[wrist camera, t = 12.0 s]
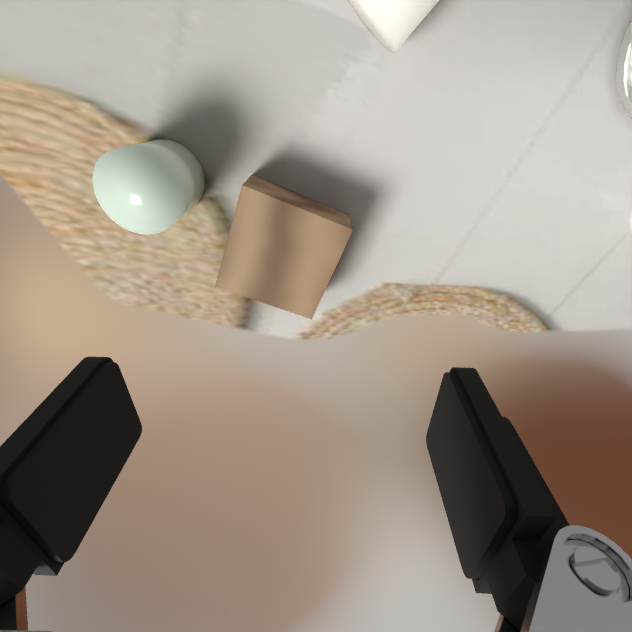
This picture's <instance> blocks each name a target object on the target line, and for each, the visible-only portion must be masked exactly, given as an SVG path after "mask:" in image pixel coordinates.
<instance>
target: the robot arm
mask: <svg viewBox="0 0 632 632" xmlns="http://www.w3.org/2000/svg"><path fill="white" fill-rule="evenodd" d="M616 80H617V91H618V95H619V98H620V102H621V104H622V106H623V108H624V109H625V111H626V113H627V114H628V115H629V116H630V117H631V118H632V19H631V22H630V24H629V26H628V28H627V31H626V33H625V35H624V38H623V42H622V45H621V49H620V52H619V56H618V63H617V71H616ZM141 432H142V425H141V422H140V419H139V417H138V414H137V412H136V409H135V407H134V404H133V401H132V399H131V396H130V394H129V391H128V389H127V386H126V384H125V381H124V378H123V376H122V373H121V371H120V368H119V366H118V364H117V363H114V362H113V360H112V359H111V358H108V357H86V358H84V359H83V360H82V361H81V362H80V363H79V364H78V365H77V366H76V367H75V369H73V370H72V371H71V372H70V374H69V375H68V376H67V377H66V378H65V379H64V380H63V381H62V382H61V383H60V384H59V385H58V386H57V387H56V388H55V389H54V391H53V392H52V393H51V394H50V395H49V396H48V397H47V398H46V399H45V400H44V401H43V402H42V403H41V404H40V405H39V406H38V407H37V409H35V411H34V412H33V413H32V414H31V415H30V416H29V417H28V418H27V419H26V420H25V421H24V422H23V423H22V424H21V425H20V426H19V427H18V428H17V430H16V431H15V432H14V433H13V434H12V435H11V436H10V437H9V438H8V439H7V440H6V441H5V442H4V443H3V444H2V445H1V446H0V632H51V631H28V617H27V601H26V586H25V585H26V584H27V582H28V580H29V579H30V577H31V576H32V574H33V573H34V574H35V575H53V576H57V575H58V573H59V571H60V569H61V567H62V566H63V564H64V562H67V561H68V560H70V559H71V558H72V557H73V555H74V554H75V552H76V550H77V549H78V547H79V545H80V543H81V541H82V540H83V538H84V536H85V534H86V532H87V531H88V529H89V527H90V525H91V524H92V522H93V520H94V518H95V516H96V514H97V513H98V511H99V509H100V507H101V506H102V504H103V502H104V500H105V498H106V497H107V495H108V493H109V491H110V489H111V488H112V486H113V484H114V482H115V481H116V479H117V477H118V475H119V473H120V471H121V470H122V468H123V466H124V464H125V463H126V461H127V459H128V457H129V456H130V453H131V452H132V450H133V448H134V446H135V445H136V443H137V441H138V439H139V437H140V435H141ZM426 442H427V448H428V451H429V454H430V458H431V462H432V465H433V469H434V472H435V476H436V479H437V482H438V486H439V490H440V493H441V496H442V500H443V504H444V507H445V510H446V514H447V517H448V521H449V524H450V528H451V531H452V535H453V538H454V542H455V545H456V549H457V552H458V555H459V559H460V563H461V566H462V569H463V572H464V574H465V576H466V577H467V578H469V579H472V581H473V584H474V588H475V591H476V593H488V594H492V595H493V598H494V601H495V604H496V607H497V610H498V612H500V616H499V619H498V622H497V625H496V628H495V631H494V632H632V560H631V558H630V557H629V556H628V555H627V554H626V553H625V552H624V551H623V550H622V549H621V548H620V547H619V546H618V545H617V544H615V543H614V542H613V541H611V540H610V539H608V538H607V537H606V536H604V535H602V534H600V533H598V532H596V531H594V530H592V529H590V528H586V527H582V526H578V525H576V526H570V525H569V523H568V522H567V520H566V518H565V516H564V515H563V513H562V511H561V509H560V508H559V506H558V504H557V502H556V501H555V499H554V497H553V495H552V494H551V492H550V490H549V488H548V486H547V485H546V483H545V481H544V480H543V478H542V476H541V474H540V472H539V471H538V469H537V467H536V465H535V464H534V462H533V460H532V458H531V457H530V455H529V453H528V451H527V450H526V448H525V446H524V444H523V443H522V441H521V439H520V437H519V436H518V434H517V432H516V430H515V428H514V427H513V425H512V424H511V422H510V421H509V420H508V419H507V418H506V417H502V416H501V414H500V412H499V411H498V409H497V407H496V405H495V403H494V401H493V400H492V398H491V396H490V394H489V392H488V390H487V389H486V387H485V385H484V383H483V382H482V380H481V378H480V376H479V374H478V372H477V371H476V369H474V368H455V367H454V368H452V369H451V370H450V372H447V373H444V376H443V379H442V382H441V386H440V389H439V393H438V396H437V400H436V403H435V407H434V410H433V414H432V417H431V421H430V424H429V428H428V432H427V436H426Z"/></svg>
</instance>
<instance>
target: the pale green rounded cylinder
mask: <svg viewBox="0 0 632 632" xmlns="http://www.w3.org/2000/svg"><path fill="white" fill-rule="evenodd" d="M93 187H94V192H95V195H96V197H97V200H98V202H99V204H100V205H101V207H102V208H103V210H104V211H105V212H106V214H107V215H108V216H109V217H110V218H111V219H112V220H113V221H114V222H116V223H117V224H118V225H120V226H121V227H123V228H125V229H127V230H129V231H132V232H135V233H139V234H146V235H147V234H156V233H160V232H162V231H164V230H166V229H167V228H169V227H170V226H171V225H172V224H173V223H175V222H176V221H177V220H178V219H179V218H181V217H182V216H183V215H184V214H186V213H187V212H188V211H189V210H190V209H192V208H193V207H194V206H195V205H196V204H197V203H198V202H199V201H200V199H201V198H202V195H203V193H204V188H205V179H204V174H203V170H202V168H201V165H200V164H199V162H198V160H197V159H196V157H195V156H194V155H193V154H192V153H191V152H190V151H189V150H188V149H187V148H186V147H184V146H183V145H181V144H179V143H177V142H175V141H172V140H167V139H158V140H153V141H148V142H143V143H139V144H134V145H130V146H125V147H121V148H116V149H113V150H110V151H108V152H106V153H105V154H104V155H102V156H101V157H100V159H99V160H98V161H97V163H96V165H95V168H94V172H93Z"/></svg>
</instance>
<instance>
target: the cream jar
mask: <svg viewBox="0 0 632 632" xmlns="http://www.w3.org/2000/svg"><path fill="white" fill-rule="evenodd" d="M438 1H439V0H348V2H349V4H350V5H351V7H352V8H353V10H354V11H355V13H356V14H357V16H358V17H359V19H360V20H361V21H362V23H363V24H364V25H365V27H366V28H367V29H368V31H369V32H370V33H371V34H372V35H373V36H374V38H375V39H376V40H377V41H378V42H379V43H380V44H381V45H382V46H383V47H384V48H386V49H387V50H388V51H390V52H392V53H394V52H395V51H396V50H397V49H398V48H399V47H400V46H401V44H402V43H403V42H404V41H405V40H406V39H407V38H408V36H409V35H410V34H411V33H412V32H413V31H414V29H415V28H416V27H417V26H418V25H419V24H420V22H421V21H422V20H423V19H424V18H425V17H426V15H427V14H428V13H429V12H430V11H431V10H432V8H433V7H434V6H435V5H436V4H437V3H438Z"/></svg>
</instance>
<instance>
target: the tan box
mask: <svg viewBox="0 0 632 632" xmlns="http://www.w3.org/2000/svg"><path fill="white" fill-rule="evenodd" d="M352 231H353V227H352V224H351V220H350V217H349V215H348V214H346V213H343V212H341V211H338V210H336V209H334V208H331V207H329V206H326V205H324V204H321V203H319V202H316V201H314V200H312V199H309V198H307V197H304V196H302V195H299V194H297V193H295V192H292V191H290V190H287V189H285V188H282V187H280V186H277V185H275V184H273V183H270V182H268V181H265V180H263V179H260V178H258V177H256V176H253V175H251V176H250V178H249V179H248V180H247V181H246V182H245V183H244V184H243V185H242V188H241V192H240V196H239V199H238V203H237V207H236V211H235V214H234V218H233V222H232V225H231V229H230V233H229V237H228V240H227V244H226V248H225V251H224V255H223V259H222V263H221V266H220V270H219V274H218V278H217V281H216V285H215V287H218V288H221V289H224V290H227V291H230V292H233V293H236V294H239V295H242V296H245V297H248V298H251V299H254V300H256V301H259V302H262V303H265V304H268V305H271V306H274V307H277V308H280V309H283V310H286V311H289V312H292V313H295V314H298V315H301V316H304V317H307V318H310V319H312V317H313V315H314V313H315V311H316V309H317V307H318V304H319V302H320V300H321V298H322V296H323V294H324V291H325V289H326V287H327V285H328V283H329V281H330V279H331V276H332V274H333V272H334V270H335V268H336V266H337V263H338V261H339V259H340V257H341V255H342V253H343V251H344V248H345V246H346V244H347V242H348V240H349V238H350V235H351V233H352Z"/></svg>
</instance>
